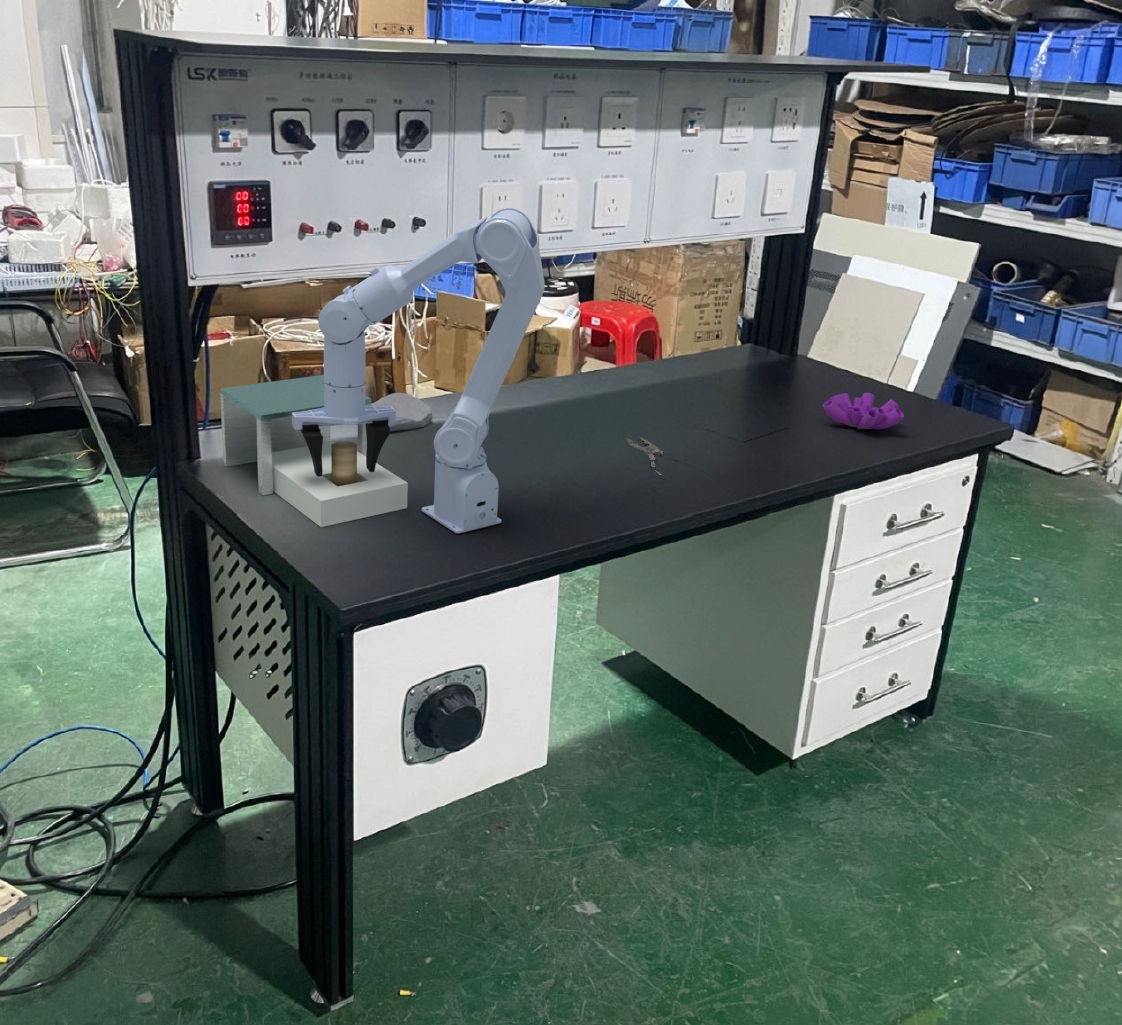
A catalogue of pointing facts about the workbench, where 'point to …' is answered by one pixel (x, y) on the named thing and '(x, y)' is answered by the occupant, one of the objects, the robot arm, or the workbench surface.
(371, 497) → the socket block
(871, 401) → the purple tube coral
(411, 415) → the stone block
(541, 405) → the workbench surface
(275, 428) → the teal topped shelf
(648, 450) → the pliers
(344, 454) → the peg
